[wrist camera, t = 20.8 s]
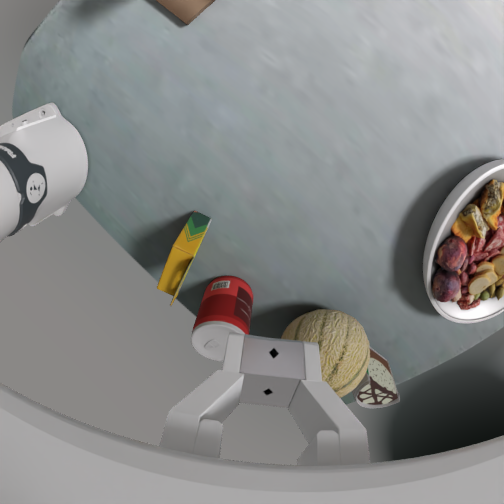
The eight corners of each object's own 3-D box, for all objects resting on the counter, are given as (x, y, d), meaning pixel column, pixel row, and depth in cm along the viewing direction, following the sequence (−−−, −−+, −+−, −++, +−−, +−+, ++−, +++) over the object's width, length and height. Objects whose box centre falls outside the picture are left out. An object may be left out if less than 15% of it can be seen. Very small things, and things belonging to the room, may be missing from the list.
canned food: (197, 296, 50) (181, 345, 41) (221, 265, 46) (207, 314, 37) (236, 318, 52) (227, 368, 43) (263, 289, 48) (258, 341, 39)
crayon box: (193, 209, 42) (167, 253, 32) (212, 218, 42) (192, 265, 32) (176, 248, 46) (150, 298, 36) (194, 257, 46) (172, 308, 36)
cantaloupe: (377, 307, 49) (398, 377, 36) (332, 357, 56) (339, 424, 43) (303, 277, 46) (309, 353, 34) (263, 336, 54) (257, 407, 41)
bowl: (532, 128, 29) (563, 141, 22) (540, 264, 41) (560, 286, 34) (392, 198, 39) (413, 223, 32) (431, 328, 51) (443, 358, 44)
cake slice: (334, 354, 56) (339, 397, 47) (359, 338, 53) (368, 381, 44) (368, 376, 59) (375, 415, 51) (391, 363, 56) (401, 401, 48)
